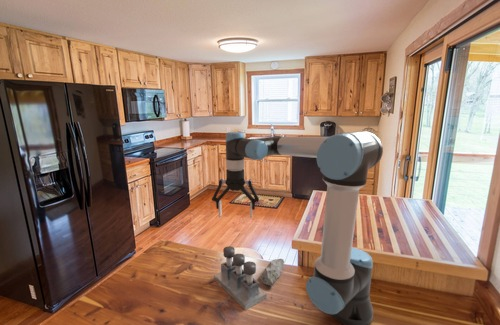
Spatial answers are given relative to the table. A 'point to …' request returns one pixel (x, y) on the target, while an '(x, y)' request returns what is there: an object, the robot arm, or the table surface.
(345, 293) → the robot arm
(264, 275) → the rock
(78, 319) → the table surface
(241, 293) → the square socket rack
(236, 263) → the knob
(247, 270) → the knob
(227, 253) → the knob
